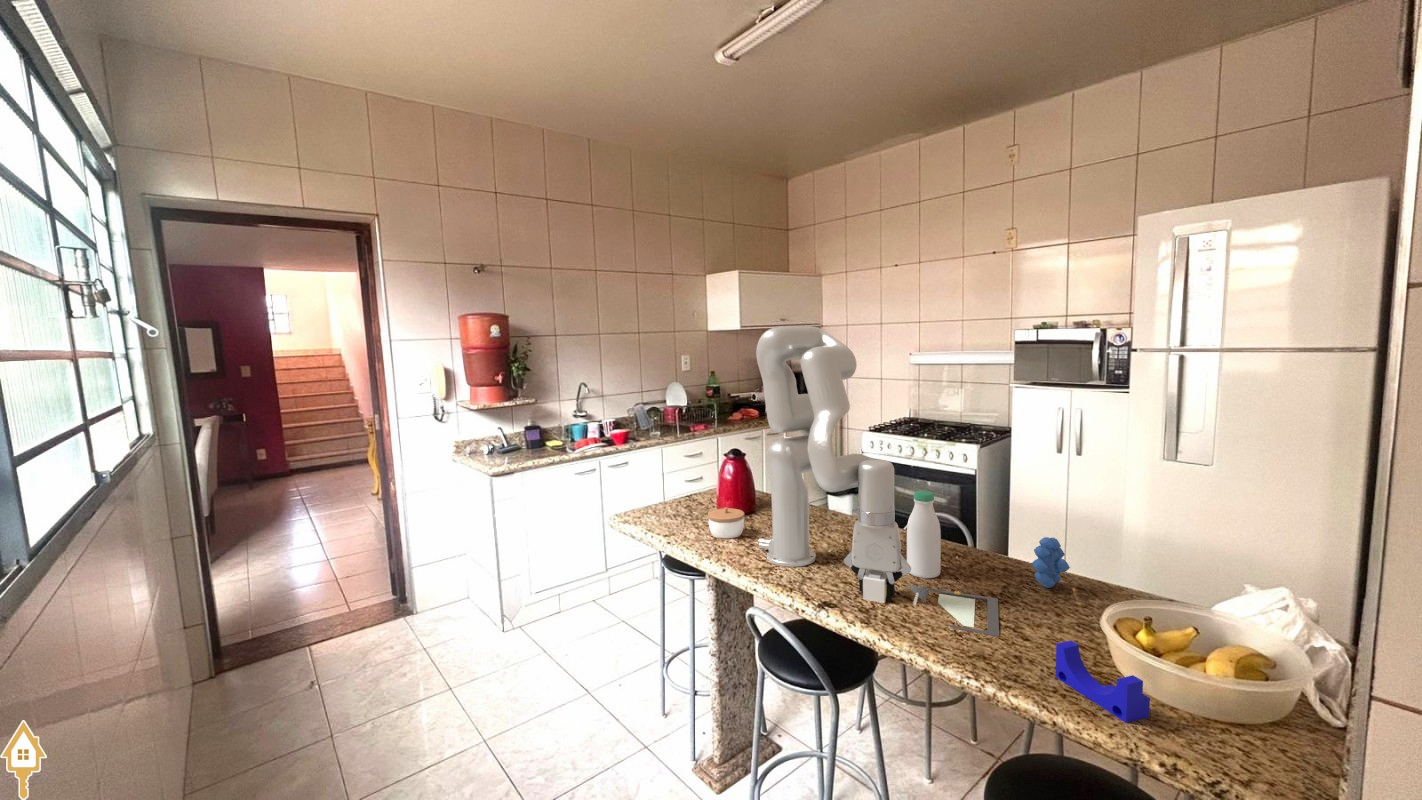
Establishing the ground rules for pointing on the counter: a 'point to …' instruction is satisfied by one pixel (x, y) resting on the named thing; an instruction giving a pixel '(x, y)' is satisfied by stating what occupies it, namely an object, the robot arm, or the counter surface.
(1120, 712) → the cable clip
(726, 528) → the lidded jar
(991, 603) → the two-window grey frame
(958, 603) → the port pad
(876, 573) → the plug
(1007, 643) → the counter surface
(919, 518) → the milk bottle
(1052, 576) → the grapes
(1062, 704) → the counter surface
